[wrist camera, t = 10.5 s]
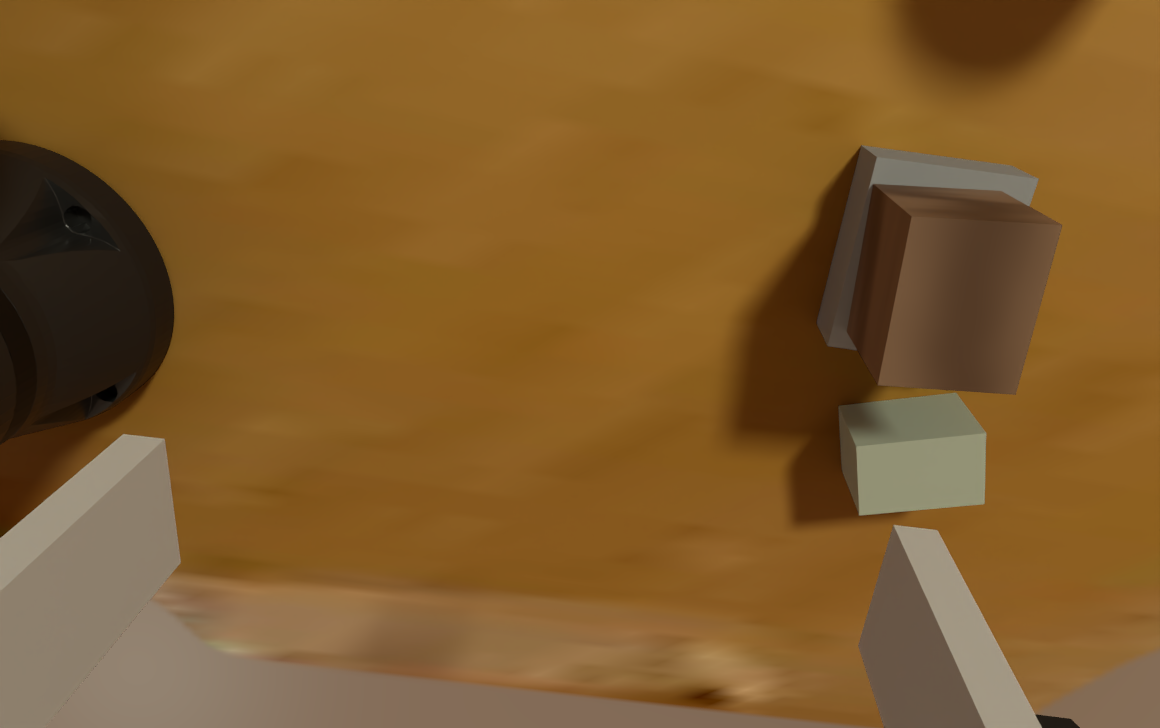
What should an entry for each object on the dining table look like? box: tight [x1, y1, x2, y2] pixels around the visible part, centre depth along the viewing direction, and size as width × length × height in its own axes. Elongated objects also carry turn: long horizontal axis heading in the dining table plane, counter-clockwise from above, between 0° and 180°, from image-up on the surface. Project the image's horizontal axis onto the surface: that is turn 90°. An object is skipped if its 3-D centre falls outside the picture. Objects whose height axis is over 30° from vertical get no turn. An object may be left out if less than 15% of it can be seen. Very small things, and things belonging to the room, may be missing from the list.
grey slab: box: [816, 145, 1038, 350], centre depth 40 cm, size 7×9×4 cm
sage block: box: [838, 393, 986, 516], centre depth 43 cm, size 6×4×4 cm, turn 100°
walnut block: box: [847, 184, 1062, 395], centre depth 36 cm, size 6×7×6 cm
